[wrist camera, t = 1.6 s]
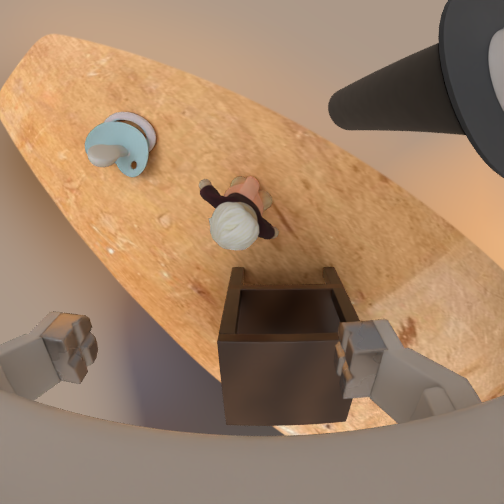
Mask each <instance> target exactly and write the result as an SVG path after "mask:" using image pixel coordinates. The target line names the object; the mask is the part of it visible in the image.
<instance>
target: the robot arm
mask: <svg viewBox="0 0 504 504" xmlns="http://www.w3.org/2000/svg"><path fill="white" fill-rule="evenodd" d="M488 61H489V71H490V76H491V80H492V84H493V88H494V91H495V94H496V96H497V99H498V101H499V103H500V105H501V107H502V109H503V111H504V28H503V29H501V30H499V31H497V32H496V33H495V34H494V36H493V37H492V39H491V42H490V46H489V53H488ZM91 328H92V325H91V322H90V319H89V318H88V317H87V316H85V315H78V314H70V313H62V312H50V313H49V314H48V315H47V316H46V317H45V318H44V319H43V320H42V321H41V322H40V323H39V324H38V325H37V326H36V327H35V328H34V329H33V330H32V331H31V332H30V333H29V334H24V335H22V336H20V337H17V338H15V339H12V340H10V341H8V342H5V343H3V344H1V345H0V504H504V395H503V396H500V397H497V398H494V399H491V400H488V401H485V402H481V400H480V398H479V397H478V395H477V394H476V392H475V391H474V389H473V388H472V386H471V385H470V383H469V381H468V380H467V379H466V378H464V377H462V376H460V375H458V374H457V373H455V372H453V371H451V370H449V369H447V368H445V367H443V366H442V365H440V364H438V363H436V362H434V361H432V360H430V359H429V358H427V357H425V356H423V355H421V354H419V353H417V352H416V351H414V350H412V349H410V348H404V347H403V345H402V343H401V341H400V340H399V338H398V336H397V335H396V333H395V332H394V330H393V328H392V327H391V325H390V323H389V322H388V320H386V319H378V320H370V321H357V322H342V323H340V324H339V327H338V332H337V335H338V338H339V342H338V343H337V344H336V345H335V351H334V366H335V371H336V374H337V375H339V376H340V381H339V386H340V389H341V393H342V396H343V399H348V398H361V397H370V399H371V400H372V401H374V402H375V403H376V404H377V405H378V406H379V407H380V408H381V409H382V410H384V411H385V412H386V413H387V414H388V415H389V416H390V417H391V418H393V419H394V420H395V421H396V422H397V423H398V424H393V425H388V426H382V427H375V428H368V429H361V430H354V431H345V432H336V433H325V434H312V435H292V436H233V435H213V434H200V433H188V432H178V431H170V430H161V429H154V428H147V427H141V426H134V425H129V424H124V423H118V422H113V421H108V420H103V419H99V418H94V417H90V416H86V415H82V414H78V413H74V412H70V411H66V410H63V409H59V408H56V407H52V406H49V405H45V404H42V403H39V402H36V401H34V400H35V399H37V398H38V397H40V396H41V395H42V394H44V393H45V392H47V391H48V390H49V389H51V388H52V387H54V386H55V385H56V384H58V383H59V382H60V380H61V381H66V382H71V383H77V384H81V382H82V380H83V379H84V377H85V376H86V374H87V372H88V370H87V366H89V365H91V364H93V363H94V361H95V359H96V357H97V352H98V347H97V341H96V338H95V336H94V335H93V334H92V333H91V332H90V331H91Z"/></svg>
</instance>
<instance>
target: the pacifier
mask: <svg viewBox="0 0 504 504" xmlns="http://www.w3.org/2000/svg"><path fill="white" fill-rule="evenodd" d="M119 120H129V121H132V122H134V123H136V124H138V125H139V126H140V127H141V128H142V129H143V130H144V132H145V134H146V137H147V140H146V138H145V137H144V135H143V134H142V133H141V132H140V131H139V130H138V129H136V128H135V127H133V126H131V125H129V124H126V123H122V122H116V121H119ZM155 142H156V135H155V131H154V129H153V127H152V126H151V125H150V123H149V122H148V121H146V120H145V119H144V118H143V117H141V116H139V115H137V114H134V113H130V112H118V113H114V114H112V115H110V116H109V117H108V118H107V119H106V120H105V122H104V123H102V124H100V125H98V126H96V127H95V128H94V129H93V130H92V131H91V132H90V133H89V134H88V136H87V138H86V141H85V150H86V153H87V155H88V159H89V161H90V162H91V163H92V164H93V165H95V166H97V167H107V166H110V165H112V164H114V163H116V164H117V166H118V168H119V169H120V171H121V172H122V173H124V174H125V175H127V176H129V177H136V176H138V175H140V174H141V173H142V172H143V170H144V169H145V167H146V165H147V162H148V157H149V151H150V150H152V148H153V147H154V145H155ZM133 161H135V162H136V163H137V167H136V169H133V168H132V167H131V164H132V162H133Z"/></svg>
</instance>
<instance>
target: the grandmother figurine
mask: <svg viewBox="0 0 504 504" xmlns="http://www.w3.org/2000/svg"><path fill="white" fill-rule="evenodd" d="M199 187H200V189H201V190H200V195H201V197H202V198H203V199H204V200H206V201H207V202H209V203H210V204H211V205H212V206H213V207H214V208H216V209H215V211H214V212H213V215H212V217H211V218H209V223H210V233H211V235H212V238H213V240H214V241H215V242H217V243H218V245H219V246H221V247H222V248H224V249H231V250H244V249H246V248H248V247H249V246H250V245H251V244H252V243H253V242H254V241H255V240H256V239H257V237H261V238H264V239H274V238H276V237H277V236H278V234H279V231H278V229H277V228H276V227H273V226H272V225H271V224H270V223H269V222H267V221H266V220H265V219H264V218H262V214H263V211H264V210H266V209H267V208H269V207H270V206H271V204H272V197H271V195H270V194H269V193H268V192H266V191H263V190H260V191H259V183H258V181H257V179H255V178H254V177H252V176H248V177H247V179H246V178H245V177H242V176H239V177H236V178H235V179H233V181H232V183H231V185H230V188H229V189H228V190H227V191H226V192H225V194H224V196H220V194H219V193H218V191H217V190H216V189H215V188H214V187H213V186H212V184H211V182H210V181H209V180H208V179H203V180H201V181H200V183H199Z"/></svg>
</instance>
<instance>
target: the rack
mask: <svg viewBox="0 0 504 504" xmlns="http://www.w3.org/2000/svg"><path fill="white" fill-rule="evenodd" d="M323 278H324V281H325V284H300V285H243V280H244V268H232V272H231V277H230V281H229V286H228V291H227V296H226V301H225V306H224V310H223V315H222V320H221V325H220V330H219V336H218V340H217V344H218V354H219V364H220V374H221V384H222V392H223V401H224V410H225V419H226V425H248V426H250V425H251V426H254V425H255V426H279V425H306V424H322V423H335V422H345V421H346V419H347V416H348V412H349V409H350V406H351V402H352V399H353V398H348V399H343V396H342V393H341V389H340V386H339V381H340V376H339V375H337V374H336V371H335V366H334V351H335V345H336V344H337V343H338V342H339V338H338V335H337V332H338V327H339V324H340V323H342V322H357V321H360V320H359V318H358V316H357V314H356V311H355V309H354V307H353V305H352V303H351V301H350V299H349V297H348V295H347V293H346V291H345V289H344V286H343V284H342V282H341V280H340V278H339V276H338V274H337V272H336V270H335V268H334V267H324V268H323Z"/></svg>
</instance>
